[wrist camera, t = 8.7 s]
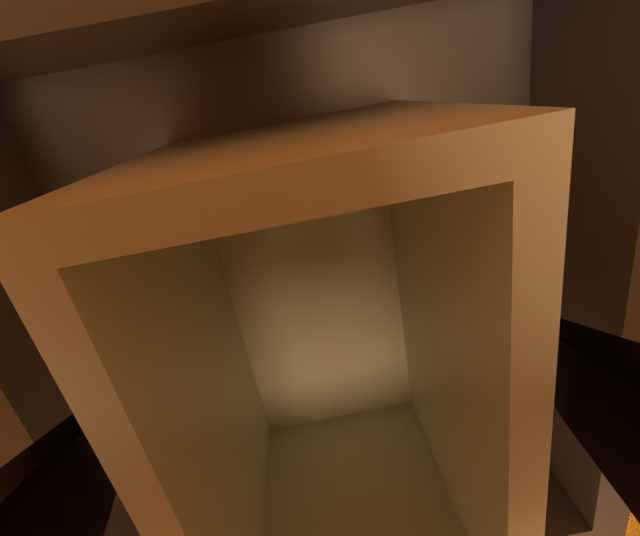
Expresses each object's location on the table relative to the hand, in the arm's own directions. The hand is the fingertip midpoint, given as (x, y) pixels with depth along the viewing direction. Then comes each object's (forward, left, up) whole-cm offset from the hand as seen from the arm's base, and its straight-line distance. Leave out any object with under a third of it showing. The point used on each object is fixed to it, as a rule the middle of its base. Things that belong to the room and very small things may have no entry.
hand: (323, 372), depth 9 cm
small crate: (0, 0, -4) cm, 4 cm away
